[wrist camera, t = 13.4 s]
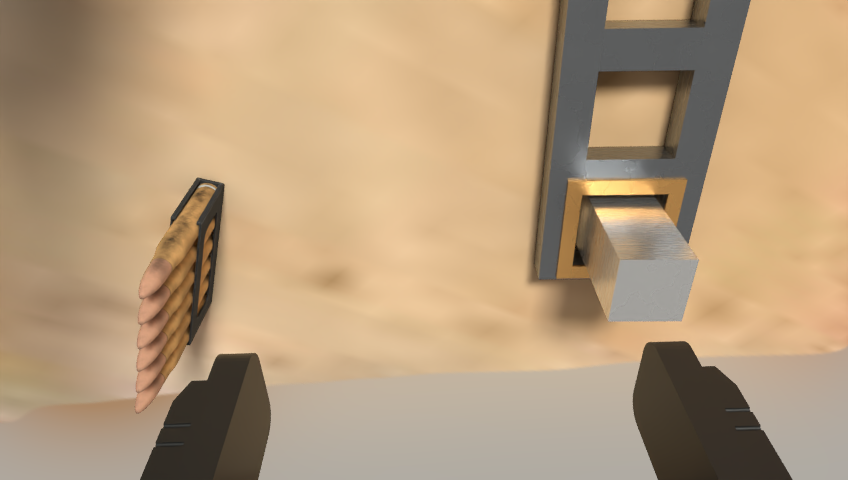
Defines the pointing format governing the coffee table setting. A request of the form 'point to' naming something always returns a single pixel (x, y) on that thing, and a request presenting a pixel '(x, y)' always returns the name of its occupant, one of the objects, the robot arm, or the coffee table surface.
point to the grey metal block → (635, 257)
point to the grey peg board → (631, 166)
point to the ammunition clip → (177, 287)
